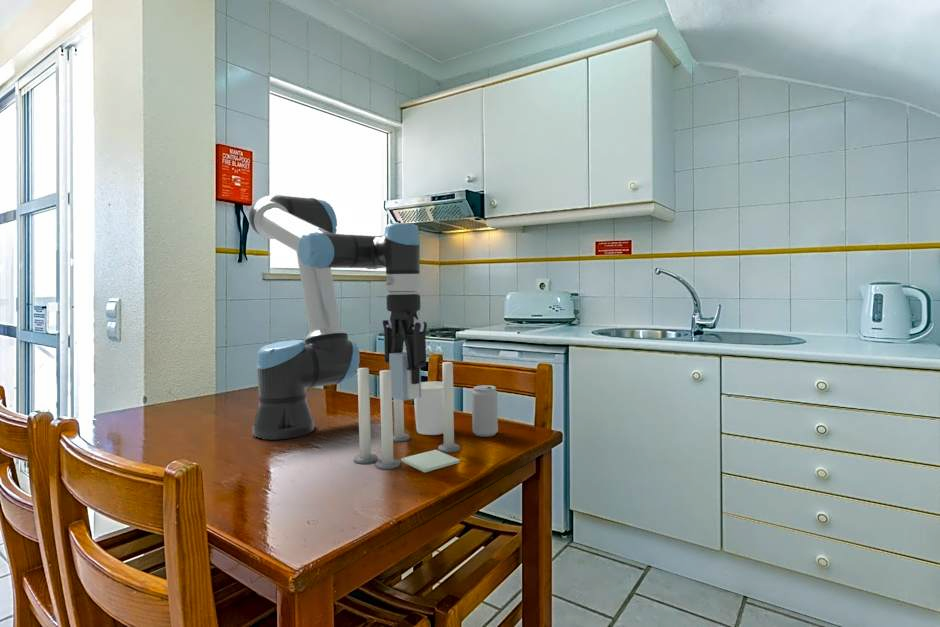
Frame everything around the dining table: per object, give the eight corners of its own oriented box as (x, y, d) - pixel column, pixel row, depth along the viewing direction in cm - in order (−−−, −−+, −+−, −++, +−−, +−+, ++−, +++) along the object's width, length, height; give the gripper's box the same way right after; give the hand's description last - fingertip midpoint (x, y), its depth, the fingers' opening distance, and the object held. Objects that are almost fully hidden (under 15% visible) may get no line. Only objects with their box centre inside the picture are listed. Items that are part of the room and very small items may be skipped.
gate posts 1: (349, 462, 111) (346, 370, 110) (395, 435, 131) (393, 356, 130) (369, 464, 110) (367, 371, 109) (412, 436, 130) (411, 357, 128)
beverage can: (495, 438, 127) (495, 389, 127) (470, 437, 129) (469, 389, 128) (499, 430, 134) (499, 384, 133) (475, 429, 135) (474, 384, 134)
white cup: (456, 427, 138) (456, 382, 137) (443, 437, 129) (442, 389, 128) (423, 424, 141) (422, 380, 140) (407, 434, 132) (406, 387, 131)
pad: (401, 461, 112) (401, 458, 112) (435, 452, 118) (435, 449, 117) (424, 472, 105) (424, 469, 105) (459, 462, 110) (459, 459, 110)
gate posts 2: (371, 464, 110) (368, 370, 109) (451, 444, 123) (449, 360, 122) (383, 471, 106) (380, 374, 105) (464, 449, 119) (462, 362, 118)
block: (390, 397, 118) (389, 353, 117) (408, 394, 121) (407, 351, 121) (403, 400, 114) (402, 355, 114) (421, 397, 118) (420, 353, 117)
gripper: (367, 293, 120) (369, 393, 122) (414, 294, 107) (416, 405, 109) (393, 292, 126) (395, 388, 127) (442, 293, 113) (444, 399, 114)
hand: (405, 395), depth 118 cm, fingers closed on block, 5 cm apart
